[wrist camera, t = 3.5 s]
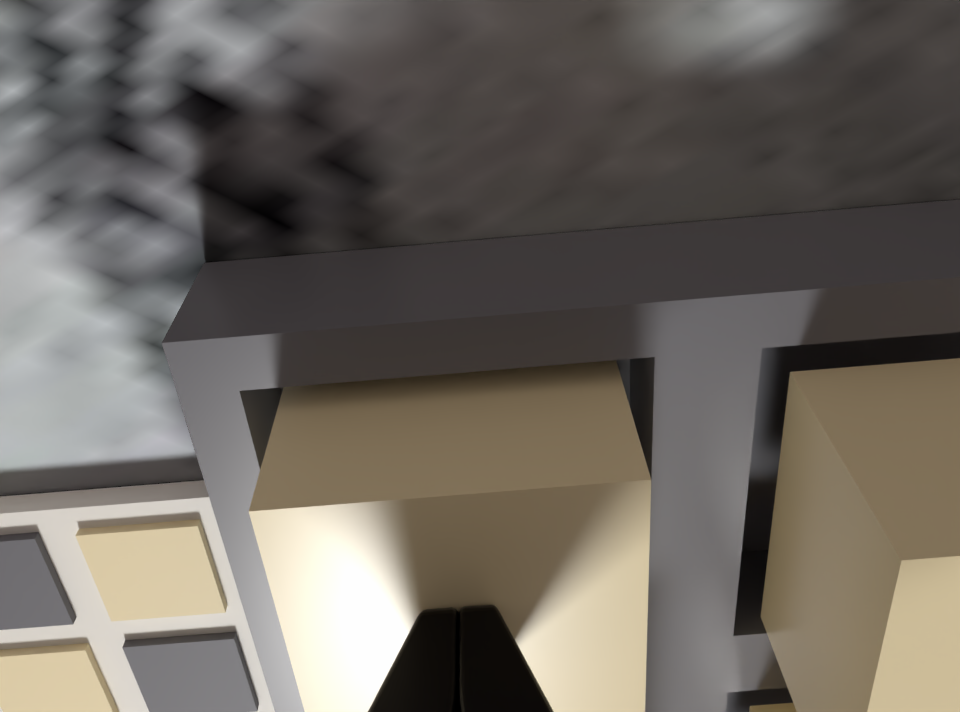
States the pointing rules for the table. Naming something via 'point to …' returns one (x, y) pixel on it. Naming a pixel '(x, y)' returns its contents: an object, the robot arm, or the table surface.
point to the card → (122, 605)
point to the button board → (580, 339)
